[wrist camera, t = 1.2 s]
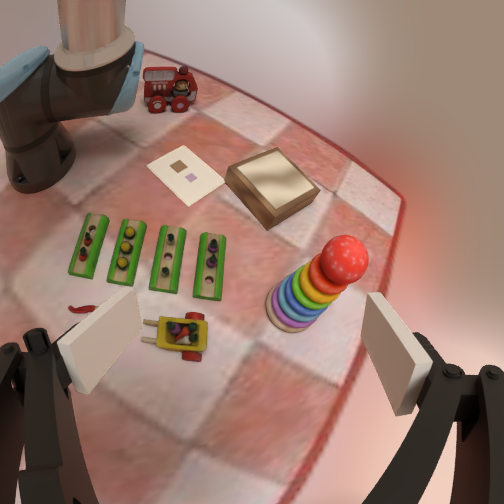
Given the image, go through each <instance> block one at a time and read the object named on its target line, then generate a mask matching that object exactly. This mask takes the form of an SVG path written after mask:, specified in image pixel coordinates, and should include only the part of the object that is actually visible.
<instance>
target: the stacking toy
mask: <svg viewBox="0 0 504 504" xmlns="http://www.w3.org/2000/svg"><path fill="white" fill-rule="evenodd" d="M367 267H368V252H367V250H366V248H365V246H364V245H363V243H362V242H361V241H360V240H358V239H357V238H355V237H353V236H349V235H340V236H337V237H334V238H333V239H331V240H330V241H329V242H328V243H327V244H326V245H325V247H324V248H323V250H322V253H319V254H318V255H316V256H315V257H314V258H313V259H312V261H310V262H308V263H307V264H305V265H303V266H301V267H300V268H299V269H298V270H297V271H295V272H294V273H292V274H291V275H289V276H287V277H286V278H285V279H284V280H283V281H281V282H280V283H278V284H276V285H275V286H274V287H273V288H272V289H271V290H270V292H269V294H268V296H267V300H266V308H267V313H268V315H269V318H270V319H271V321H272V322H273V323H274V324H275V325H276V326H277V327H278V328H280V329H282V330H284V331H287V332H300V331H303V330H305V329H306V328H308V327H309V326H310V325H311V324H313V323H314V322H315V321H316V320H317V318H318V317H319V316H320V315H321V314H322V312H324V311H325V310H326V309H327V308H328V306H329V305H330V304H331V303H332V302H333V301H334V300H335V299H337V298H338V296H339V295H340V293H341V292H342V291H344V290H345V289H346V288H347V286H348V284H350V283H353V282H356V281H357V280H359V279H360V278H361V277H362V276H363V275H364V273H365V272H366V269H367Z"/></svg>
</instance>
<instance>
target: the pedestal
mask: <svg viewBox="0 0 504 504" xmlns="http://www.w3.org/2000/svg"><path fill="white" fill-rule="evenodd" d="M224 181H225V183H226V184H227V185H228V187H229V188H230V189H231V190H232V191H233V192H234V193H235V194H236V196H237V197H238V198H239V199H240V200H241V201H242V202H243V203H244V205H245V206H246V207H247V208H248V209H249V210H250V211H251V213H252V214H253V215H254V216H255V217H256V218H257V219H258V221H259V222H260V223H261V224H262V225H263V226H264V227H265V229H266V230H269V229H271V228H272V227H274V226H275V225H277V224H279V223H280V222H282V221H283V220H285V219H287V218H288V217H290V216H291V215H293V214H295V213H296V212H298V211H299V210H301V209H303V208H304V207H306V206H308V205H309V204H311V203H312V202H313V200H314V199H315V197H316V196H317V195H318V193H319V192H320V191H321V190H320V189H319V188H318V187H317V186H316V185H315V184H314V183H313V182H312V181H311V180H310V179H309V178H308V177H307V176H306V175H305V174H304V173H303V172H302V171H301V170H300V169H299V168H298V167H297V166H296V165H295V164H294V163H293V162H292V161H291V160H290V159H289V158H288V157H287V156H286V155H285V154H284V153H283V152H282V151H281V150H280V149H279V148H278V147H276V148H274V149H271V150H268V151H266V152H263V153H261V154H258V155H256V156H253V157H250V158H248V159H245V160H243V161H241V162H238V163H236V164H233V165H231V166H229V167H228V170H227V173H226V177H225V180H224Z"/></svg>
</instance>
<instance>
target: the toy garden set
mask: <svg viewBox="0 0 504 504" xmlns="http://www.w3.org/2000/svg"><path fill="white" fill-rule="evenodd" d="M109 221H110V220H109V218H108V217H107V216H105V215H94V214H91V213H88V214H87V216H86V219H85V221H84V224H83V227H82V230H81V233H80V235H79V238H78V241H77V244H76V247H75V250H74V253H73V257H72V260H71V263H70V266H69V270H68V273H69V275H74V276H79V277H83V278H88V279H93V275H94V272H95V268H96V264H97V261H98V257H99V254H100V250H101V247H102V243H103V240H104V237H105V234H106V230H107V227H108V224H109ZM146 227H147V226H146V223H145V222H143V221H134V220H129V219H124V220H123V221H122V225H121V228H120V231H119V235H118V238H117V242H116V245H115V249H114V252H113V256H112V260H111V264H110V268H109V272H108V276H107V282H108V283H114V284H119V285H125V286H131V287H133V284H134V279H135V275H136V270H137V265H138V261H139V256H140V252H141V248H142V243H143V239H144V235H145V231H146ZM93 229H96V230H95V231H94V232H91V231H92V230H93ZM185 237H186V230H185V229H184V228H176V227H170V226H167V225H163V226H161V229H160V233H159V238H158V242H157V247H156V252H155V257H154V262H153V267H152V272H151V278H150V283H149V290H154V291H160V292H167V293H173V294H177V289H178V281H179V275H180V268H181V261H182V255H183V249H184V242H185ZM225 246H226V237H225V236H224V235H216V234H211V233H207V232H205V233H202V234H201V236H200V242H199V249H198V257H197V265H196V272H195V280H194V289H193V298H200V299H207V300H215V301H221V296H222V284H223V271H224V258H225ZM166 256H170V257H171V258H172V259H171V260H166V259H165V257H166ZM206 279H210V280H212V283H211V284H208V283H206V281H205V280H206ZM98 307H99V306H94V305H88V306H82V307H78V308H74V307H72V306H69V307H68V309H69V310H70V311H72V312H74V313H86V312H93V311H94V310H96V309H97V308H98ZM143 323H144V324H148V325H156V326H158V332H157V339H153V338H147V337H141V341H143V342H149V343H156V346H157V347H160V348H163V349H166V350H170V351H182V359H183V360H189V361H197V362H201V357H202V354H201V353H198V352H195V351H205V350H206V345H207V327H208V323H207V321H204V315H203V314H201V313H197V312H189V313H186V317H185V319H183V318H173V317H163V316H160V317H159V321H152V320H145V319H144V321H143Z"/></svg>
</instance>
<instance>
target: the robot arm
mask: <svg viewBox="0 0 504 504" xmlns="http://www.w3.org/2000/svg"><path fill="white" fill-rule="evenodd" d="M57 3H58V14H59V22H60V30H61V38H62V42H61V43H60V45H59V46H58V47H57V49H56V51H55V54H53V55H49V54H50V51H49V49H48V47H46V46H43V47H42V46H39V47H35V48H32V49H29V50H27V51H25V52H23V53H21V54H19V55H18V56H16V57H14V58H13V59H11V60H10V61H8V62H7V63H6V64H4V65H3V66H2V67H1V68H0V138H1V141H2V143H3V145H4V148H5V151H6V166H7V175H8V178H9V180H10V182H11V184H12V186H13V187H14V188H15V189H16V190H17V191H19V192H22V193H34V192H38V191H41V190H44V189H46V188H48V187H50V186H51V185H53V184H55V183H56V182H57V181H58V180H60V179H61V178H62V177H63V176H64V175H65V174H66V173H67V171H68V170H69V169H70V167H71V166H72V164H73V161H74V159H75V146H74V142H73V139H72V137H71V136H70V134H69V133H68V131H67V130H66V129H65V127H64V126H63V125H62V123H61V122H60V121H65V120H72V119H79V118H87V117H95V116H104V115H107V116H108V115H111V114H115V113H121V112H126V111H128V110H129V109H131V108H132V106H133V104H134V102H135V98H136V93H137V87H138V82H139V74H140V69H141V65H142V59H143V52H144V44H143V43H141V42H137V41H135V42H134V39H135V37H134V33H133V31H132V30H131V29H130V28H128V27H126V26H125V25H124V21H125V5H126V0H57ZM141 329H142V324H141V318H140V313H139V307H138V301H137V295H136V289H135V287H125V286H124V287H123V288H122V289H121V290H119V291H118V292H117V293H115V294H114V295H113V296H112V297H110V298H109V299H108V300H107V301H105V302H104V303H103V304H102V305H101V306H99V307H98V308H97V309H96V310H94V311H93V312H92V313H91V314H90V315H88V316H87V317H86V318H85V319H83V320H82V321H81V322H79V323H77V324H75V325H74V326H72V327H71V328H70V329H69V330H68V331H66V332H65V334H63V335H62V336H60V337H59V338H58V339H57V340H56V341H55V342H53V343H52V344H51V343H50V340H49V337H48V334H47V331H46V330H45V329H44V328H35V329H31V330H29V331H27V332H26V333H25V334H24V335H23V340H24V342H25V345H26V348H27V350H28V352H21V350H20V347H19V345H18V344H17V343H13V342H12V343H7V344H4V345H3V346H2V347H1V348H0V504H15V497H16V488H17V480H18V483H19V491H20V498H21V504H99V503H98V500H97V498H96V495H95V492H94V489H93V486H92V483H91V480H90V477H89V474H88V470H87V467H86V464H85V460H84V456H83V452H82V449H81V445H80V440H79V436H78V432H77V427H76V422H75V417H74V411H73V405H72V399H71V392H70V390H69V388H68V385H69V384H70V383H71V382H72V383H73V386H74V388H75V390H76V392H79V393H82V394H86V395H89V394H90V393H91V391H92V390H93V389H94V387H95V386H96V385H97V384H98V382H99V381H100V380H101V379H102V377H103V376H104V375H105V374H106V372H107V371H108V370H109V369H110V367H111V366H112V365H113V364H114V362H115V361H116V360H117V359H118V357H119V356H120V355H121V354H122V352H123V351H124V350H125V349H126V348H127V346H128V345H129V344H130V343H131V341H132V340H133V339H134V338H135V337H136V335H137V334H138V333H139V332H140V331H141ZM361 338H362V340H363V342H364V345H365V347H366V349H367V351H368V353H369V355H370V358H371V360H372V362H373V364H374V367H375V369H376V371H377V373H378V376H379V378H380V380H381V383H382V385H383V387H384V389H385V392H386V394H387V396H388V399H389V401H390V404H391V406H392V409H393V411H394V413H395V416H401V415H407V414H411V413H412V412H413V409H414V407H415V405H416V404H417V406H418V408H419V412H418V414H417V416H416V418H415V420H414V422H413V424H412V426H411V428H410V430H409V432H408V433H407V435H406V437H405V439H404V441H403V442H402V444H401V446H400V448H399V450H398V451H397V453H396V455H395V456H394V458H393V459H392V461H391V463H390V464H389V466H388V467H387V469H386V470H385V472H384V473H383V475H382V477H381V478H380V479H379V481H378V482H377V484H376V485H375V487H374V488H373V489H372V491H371V492H370V493H369V495H368V496H367V498H366V499H365V500H364V501H363V503H362V504H418V502H419V500H420V499H421V497H422V495H423V493H424V491H425V489H426V487H427V485H428V483H429V481H430V479H431V477H432V474H433V472H434V470H435V468H436V466H437V463H438V461H439V459H440V456H441V454H442V451H443V449H444V446H445V443H446V441H447V438H448V435H449V433H450V430H451V427H452V424H453V422H457V442H456V443H457V444H456V458H455V471H454V479H453V487H452V494H451V500H450V504H504V372H503V371H502V370H501V369H500V368H499V367H497V366H495V365H494V366H493V365H485V366H483V367H482V368H481V370H480V372H479V374H478V375H465V372H464V371H463V369H461V368H460V367H459V366H456V365H454V364H446V363H445V362H444V360H443V359H442V357H441V356H440V355H439V354H438V352H437V351H436V350H435V349H434V347H433V346H432V345H431V344H430V342H429V341H428V340H427V338H426V337H425V336H423V335H422V334H420V333H418V332H415V333H412V332H411V331H410V330H409V328H408V327H407V326H406V324H405V323H404V322H403V321H402V319H401V318H400V317H399V315H398V314H397V313H396V312H395V310H394V309H393V308H392V307H391V305H390V304H389V303H388V301H387V300H386V299H385V298H384V297H383V295H382V294H381V293H380V292H375V293H367V300H366V306H365V313H364V319H363V325H362V330H361ZM11 382H12V384H13V386H14V387H13V388H12V384H11ZM23 446H24V448H25V462H26V470H20V471H19V467H20V461H21V455H22V450H23Z"/></svg>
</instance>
